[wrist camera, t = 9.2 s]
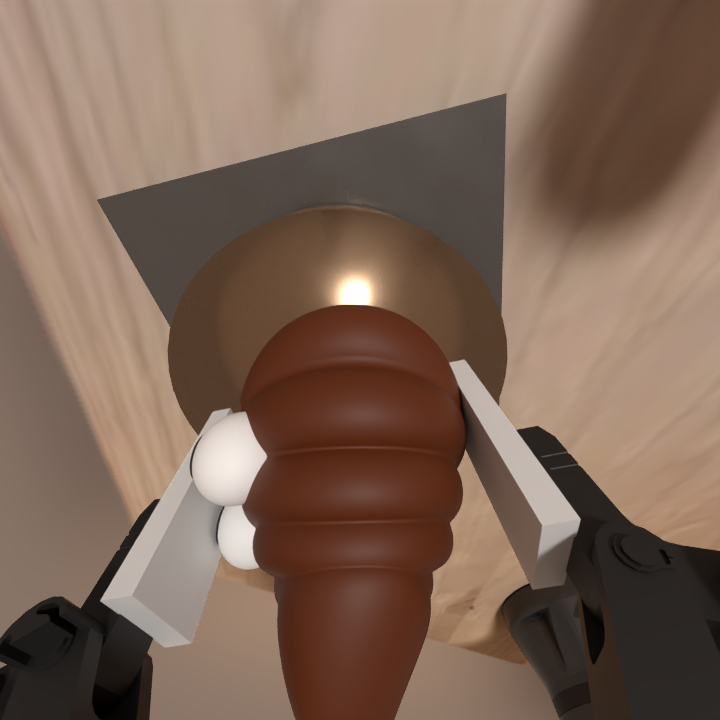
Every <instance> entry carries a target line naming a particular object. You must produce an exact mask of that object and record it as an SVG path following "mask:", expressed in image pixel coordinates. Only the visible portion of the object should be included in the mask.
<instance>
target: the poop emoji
mask: <svg viewBox="0 0 720 720" xmlns="http://www.w3.org/2000/svg"><path fill="white" fill-rule="evenodd" d="M240 404H241V412H238V413H234V414H231V415H228V416H226V417H224V418H222V419H220V420H219V421H217V422H216V423H215V424H213V425H212V426H211V427H210V428H209V429H208V430H207V431H206V432H205V433H204V435H202V436H201V437H200V438H199V440H198V441H197V443H196V445H195V446H194V449H193V452H192V455H191V459H190V474H191V477H192V479H193V480H194V483H195V485H196V487H197V489H198V491H199V492H200V493H201V494H202V495H203V496H204V497H205V498H206V499H207V500H209V501H210V502H212V503H215V504H217V505H221V506H223V508H222V510H221V512H220V515H219V518H218V521H217V526H216V542H217V544H218V545H219V548H220V550H221V553H222V555H223V556H224V558H225V559H226V560H227V561H228V562H229V563H230V564H231V565H233V566H235V567H237V568H239V569H245V570H251V569H256V568H259V567H260V568H261V569H262V570H263V571H265V572H266V573H268V574H270V575H272V576H274V577H275V584H274V592H275V598H276V600H277V603H278V619H277V621H278V641H279V649H280V657H281V663H282V670H283V675H284V679H285V684H286V688H287V693H288V696H289V700H290V703H291V707H292V710H293V713H294V716H295V719H296V720H394V719H395V716H396V714H397V711H398V708H399V705H400V703H401V700H402V698H403V695H404V692H405V690H406V687H407V685H408V682H409V680H410V677H411V675H412V672H413V670H414V667H415V664H416V662H417V659H418V657H419V654H420V651H421V649H422V646H423V643H424V640H425V637H426V634H427V631H428V626H429V621H430V614H431V599H430V597H431V594H432V590H433V575H432V573H433V571H435V570H436V569H438V568H440V567H441V566H442V565H444V564H445V563H446V562H447V560H448V559H449V557H450V555H451V553H452V549H453V533H452V529H451V526H450V522H451V521H452V520H453V519H454V517H455V516H456V515H457V513H458V511H459V509H460V507H461V504H462V499H463V487H462V481H461V478H460V475H459V472H458V470H457V468H458V466H459V464H460V462H461V460H462V458H463V455H464V452H465V447H466V427H465V419H464V411H463V405H462V399H461V394H460V390H459V386H458V383H457V380H456V377H455V375H454V372H453V370H452V368H451V366H450V364H449V362H448V360H447V358H446V357H445V355H444V353H443V352H442V350H441V349H440V348H439V346H438V345H437V344H436V343H435V341H434V340H433V339H432V338H431V337H430V336H429V335H428V334H427V333H426V332H425V331H424V330H423V329H421V328H420V327H419V326H418V325H416V324H415V323H414V322H412V321H410V320H409V319H407V318H405V317H403V316H401V315H399V314H397V313H395V312H392V311H389V310H386V309H383V308H379V307H375V306H369V305H359V304H344V305H335V306H329V307H324V308H321V309H317V310H314V311H311V312H309V313H306V314H304V315H302V316H300V317H298V318H296V319H295V320H293V321H291V322H290V323H288V324H287V325H286V326H284V327H283V328H282V329H280V330H279V331H278V332H277V333H276V334H275V335H274V336H273V337H272V338H271V339H270V340H269V341H268V342H267V344H266V345H265V346H264V347H263V349H262V350H261V352H260V353H259V355H258V356H257V358H256V360H255V361H254V363H253V365H252V367H251V369H250V371H249V374H248V376H247V378H246V381H245V384H244V387H243V390H242V394H241V398H240Z"/></svg>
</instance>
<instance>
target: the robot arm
mask: <svg viewBox="0 0 720 720" xmlns="http://www.w3.org/2000/svg"><path fill="white" fill-rule="evenodd" d="M449 364H450V366H451V368H452V370H453V372H454V375H455V377H456V380H457V383H458V386H459V390H460V394H461V399H462V405H463V411H464V419H465V427H466V447H465V449H466V451H467V453H468V455H469V457H470V459H471V461H472V464H473V466H474V468H475V470H476V472H477V474H478V476H479V478H480V480H481V482H482V485H483V487H484V489H485V491H486V493H487V495H488V497H489V499H490V501H491V503H492V506H493V508H494V510H495V512H496V514H497V516H498V518H499V520H500V522H501V524H502V527H503V529H504V531H505V533H506V535H507V537H508V539H509V541H510V543H511V545H512V547H513V550H514V552H515V554H516V556H517V558H518V560H519V562H520V564H521V566H522V568H523V571H524V573H525V575H526V577H527V579H528V581H529V583H530V585H529V586H527V587H525V588H523V589H521V590H519V591H518V592H516V593H515V594H513V595H512V596H511V597H510V598H509V599H508V600H507V601H506V602H505V604H504V606H503V609H502V613H503V616H504V619H505V621H506V624H507V627H508V629H509V632H510V634H511V636H512V637H513V639H514V640H515V642H516V643H517V645H518V646H519V648H520V649H521V651H522V652H523V654H524V655H525V657H526V658H527V660H528V661H529V663H530V664H531V666H532V667H533V669H534V670H535V672H536V673H537V675H538V676H539V678H540V680H541V681H542V682H543V684H544V686H545V687H546V689H547V691H548V693H549V695H550V697H551V700H552V702H553V704H554V707H555V709H556V712H557V714H558V717H559V719H560V720H720V551H716V550H709V549H702V548H696V547H689V546H682V545H678V544H673V543H669V542H666V541H663V540H662V539H661V538H659V537H657V536H656V535H654V534H652V533H651V532H649V531H647V530H646V529H644V528H641V527H638V526H635V525H634V524H632V523H631V522H630V521H629V520H628V519H627V518H626V517H625V516H624V515H623V514H622V513H621V512H620V511H619V510H618V509H617V508H616V507H615V505H614V504H613V503H612V502H611V501H610V500H609V498H608V497H607V496H606V495H605V494H604V493H603V492H602V490H601V489H600V488H599V487H598V486H597V485H596V483H595V482H594V481H593V480H592V479H591V478H590V477H589V475H588V474H587V473H586V472H585V471H584V470H583V468H582V467H581V466H579V465H578V463H577V462H576V460H575V459H574V458H573V457H572V456H571V455H570V454H568V452H567V450H566V449H565V448H564V447H563V445H562V444H561V443H560V442H559V441H558V440H557V438H556V437H555V436H553V435H551V434H550V433H548V432H547V431H545V430H543V429H542V428H540V427H539V426H535V427H529V428H524V429H519V430H516V429H515V428H514V427H513V425H512V424H511V423H510V421H509V420H508V418H507V417H506V416H505V414H504V413H503V412H502V410H501V409H500V407H499V406H498V405H497V403H496V402H495V401H494V399H493V398H492V396H491V395H490V394H489V392H488V391H487V390H486V388H485V387H484V385H483V384H482V383H481V381H480V380H479V379H478V377H477V376H476V374H475V373H474V372H473V370H472V369H471V368H470V366H469V365H468V363H467V362H466V361H465V359H464V360H460V361H455V362H450V363H449ZM231 414H233V412H232V410H231V408H228V409H223V410H218V411H213V412H212V414H211V416H210V417H209V419H208V421H207V422H206V424H205V426H204V427H203V429H202V431H201V432H200V434H199V436H198V438H197V439H196V441H195V443H194V444H193V446H192V448H191V449H190V451H189V453H188V454H187V456H186V458H185V459H184V461H183V463H182V464H181V466H180V468H179V469H178V471H177V473H176V474H175V476H174V478H173V479H172V481H171V483H170V484H169V486H168V488H167V489H166V491H165V493H164V495H163V496H162V498H161V499H156V500H154V501H153V502H152V503H151V504H150V505H149V506H148V507H147V508H146V509H145V510H144V511H143V512H142V513H141V515H140V516H139V517H138V519H137V520H136V522H135V524H134V525H133V527H132V528H131V530H130V531H129V535H128V536H126V538H125V539H124V541H123V543H122V544H121V546H120V550H118V551H117V552H116V554H115V555H114V557H113V559H112V560H111V562H110V563H109V565H108V566H107V568H106V569H105V571H104V573H103V574H102V576H101V577H100V579H99V580H98V582H97V584H96V585H95V587H94V589H93V590H92V592H91V593H90V595H89V597H88V598H87V600H86V601H85V603H84V604H83V606H82V607H81V609H80V608H79V607H77V606H76V605H74V604H72V603H71V602H70V601H68V600H66V599H65V598H64V597H51V598H49V599H46V600H44V601H42V602H40V603H38V604H37V605H35V606H34V607H32V608H31V609H29V610H28V611H27V612H25V613H24V614H23V615H22V616H21V617H20V618H19V619H18V620H17V621H15V622H14V623H13V624H12V625H11V626H10V627H9V628H8V630H7V631H6V632H5V633H4V634H3V636H2V637H1V638H0V661H1V662H3V663H5V664H7V665H6V666H4V667H2V668H0V720H149V715H150V701H151V688H152V673H153V664H152V658H151V657H150V656H149V655H148V653H147V652H148V649H149V647H150V645H151V642H152V640H153V639H154V640H155V641H157V642H158V643H160V644H161V645H162V646H163V647H165V648H166V647H172V646H178V645H185V644H191V643H192V641H193V639H194V636H195V633H196V630H197V627H198V624H199V621H200V618H201V615H202V612H203V609H204V605H205V602H206V599H207V597H208V594H209V591H210V588H211V585H212V582H213V579H214V576H215V573H216V570H217V567H218V564H219V561H220V558H221V555H222V553H221V550H220V548H219V545H218V544H217V542H216V526H217V521H218V518H219V515H220V512H221V510H222V508H223V506H221V505H217V504H215V503H212V502H210V501H209V500H207V499H206V498H205V497H204V496H203V495H202V494H201V493H200V492H199V491H198V489H197V487H196V485H195V483H194V480H193V479H192V477H191V474H190V459H191V455H192V452H193V449H194V446H195V445H196V443H197V441H198V440H199V438H200V437H201V436H202V435H204V433H205V432H206V431H207V430H208V429H209V428H210V427H211V426H212V425H213V424H215V423H216V422H217V421H219V420H220V419H222V418H224V417H226V416H228V415H231Z"/></svg>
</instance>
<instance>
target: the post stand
mask: <svg viewBox="0 0 720 720" xmlns="http://www.w3.org/2000/svg"><path fill="white" fill-rule="evenodd" d="M505 130H506V94H502V95H498V96H494V97H491V98H487V99H483V100H479V101H475V102H471V103H468V104H464V105H460V106H456V107H452V108H448V109H444V110H441V111H437V112H433V113H429V114H425V115H421V116H417V117H414V118H410V119H406V120H402V121H398V122H394V123H391V124H387V125H383V126H379V127H375V128H371V129H367V130H364V131H360V132H356V133H352V134H348V135H344V136H340V137H337V138H333V139H329V140H325V141H321V142H317V143H314V144H310V145H306V146H302V147H298V148H294V149H290V150H287V151H283V152H279V153H275V154H271V155H267V156H264V157H260V158H256V159H252V160H248V161H244V162H240V163H237V164H233V165H229V166H225V167H221V168H217V169H213V170H210V171H206V172H202V173H198V174H194V175H190V176H187V177H183V178H179V179H175V180H171V181H167V182H163V183H160V184H156V185H152V186H148V187H144V188H140V189H137V190H133V191H129V192H125V193H121V194H117V195H113V196H110V197H106V198H102V199H98V200H97V201H98V203H99V204H100V206H101V208H102V209H103V211H104V213H105V215H106V216H107V218H108V220H109V222H110V223H111V225H112V227H113V229H114V230H115V232H116V234H117V235H118V237H119V239H120V241H121V242H122V244H123V246H124V248H125V249H126V251H127V253H128V255H129V256H130V258H131V260H132V261H133V263H134V265H135V267H136V268H137V270H138V272H139V274H140V275H141V277H142V279H143V280H144V282H145V284H146V286H147V287H148V289H149V291H150V293H151V294H152V296H153V298H154V300H155V301H156V303H157V305H158V306H159V308H160V310H161V312H162V313H163V315H164V317H165V319H166V320H167V322H168V324H169V326H170V327H171V328H170V335H169V344H168V361H169V373H170V377H171V381H172V386H173V390H174V393H175V395H176V398H177V400H178V403H179V405H180V408H181V409H182V411H183V413H184V415H185V417H186V418H187V420H188V422H189V424H190V425H191V426H192V428H193V429H194V430H195V432H196V433H197V434H198V436H199V434H200V432H201V431H202V429H203V427H204V426H205V424H206V422H207V421H208V419H209V417H210V416H211V414H212V412H213V411H218V410H223V409H228V408H231V410H232V412H233V414H234V413H238V412H241V404H240V398H241V394H242V390H243V387H244V384H245V381H246V378H247V376H248V374H249V371H250V369H251V367H252V365H253V363H254V361H255V360H256V358H257V356H258V355H259V353H260V352H261V350H262V349H263V347H264V346H265V345H266V344H267V342H268V341H269V340H270V339H271V338H272V337H273V336H274V335H275V334H276V333H277V332H278V331H279V330H280V329H282V328H283V327H284V326H286V325H287V324H288V323H290V322H291V321H293V320H295V319H296V318H298V317H300V316H302V315H304V314H306V313H309V312H311V311H314V310H317V309H321V308H324V307H329V306H335V305H344V304H359V305H369V306H375V307H379V308H383V309H386V310H389V311H392V312H395V313H397V314H399V315H401V316H403V317H405V318H407V319H409V320H410V321H412V322H414V323H415V324H416V325H418V326H419V327H420V328H421V329H423V330H424V331H425V332H426V333H427V334H428V335H429V336H430V337H431V338H432V339H433V340H434V341H435V343H436V344H437V345H438V346H439V348H440V349H441V350H442V352H443V353H444V355H445V357H446V358H447V360H448V362H449V363H450V362H455V361H460V360H464V359H465V361H466V362H467V363H468V365H469V366H470V368H471V369H472V370H473V372H474V373H475V374H476V376H477V377H478V379H479V380H480V381H481V383H482V384H483V385H484V387H485V388H486V390H487V391H488V392H489V394H490V395H491V396H492V398H493V399H494V401H495V402H496V403H497V405H498V406H499V397H500V394H501V391H502V387H503V383H504V379H505V375H506V366H507V339H506V334H505V329H504V324H503V319H502V317H501V304H502V261H503V217H504V173H505Z"/></svg>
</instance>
